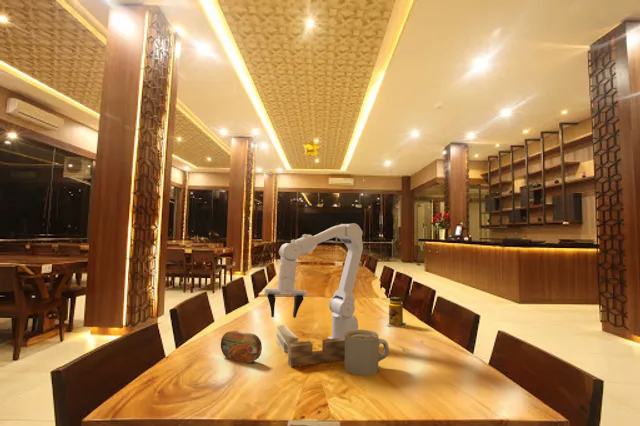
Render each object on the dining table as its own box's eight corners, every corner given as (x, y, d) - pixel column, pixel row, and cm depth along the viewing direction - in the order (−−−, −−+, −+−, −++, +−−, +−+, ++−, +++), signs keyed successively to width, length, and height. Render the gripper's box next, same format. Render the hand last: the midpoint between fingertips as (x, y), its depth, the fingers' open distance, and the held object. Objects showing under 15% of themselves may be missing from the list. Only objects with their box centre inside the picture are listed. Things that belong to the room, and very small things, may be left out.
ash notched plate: (284, 341, 120) (284, 325, 120) (297, 356, 105) (298, 337, 105) (276, 342, 119) (276, 325, 119) (288, 357, 104) (289, 338, 104)
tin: (219, 356, 104) (220, 329, 105) (226, 353, 107) (227, 327, 108) (256, 366, 97) (257, 337, 98) (263, 362, 100) (263, 334, 101)
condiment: (386, 326, 142) (386, 298, 143) (389, 321, 150) (389, 295, 151) (403, 328, 140) (403, 299, 141) (405, 323, 148) (405, 296, 149)
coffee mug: (346, 375, 91) (346, 339, 92) (343, 361, 101) (343, 329, 102) (393, 376, 91) (393, 339, 92) (386, 362, 101) (386, 329, 102)
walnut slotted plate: (341, 356, 106) (341, 337, 106) (345, 359, 103) (345, 340, 103) (288, 363, 99) (288, 343, 100) (291, 367, 96) (291, 346, 97)
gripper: (267, 277, 108) (263, 319, 107) (309, 279, 112) (306, 320, 111) (265, 275, 115) (261, 314, 114) (305, 277, 119) (302, 315, 117)
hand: (283, 316), depth 113 cm, fingers open, 7 cm apart
